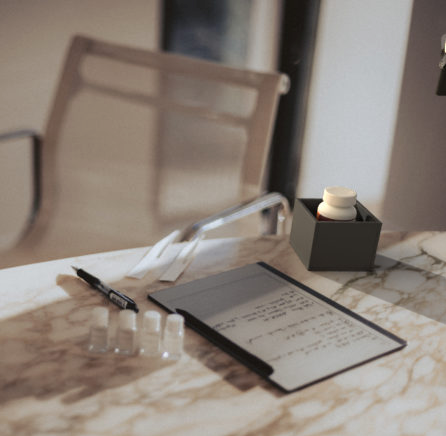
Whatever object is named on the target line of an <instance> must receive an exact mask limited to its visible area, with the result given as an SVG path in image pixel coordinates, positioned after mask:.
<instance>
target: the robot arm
mask: <svg viewBox="0 0 446 436" xmlns="http://www.w3.org/2000/svg"><path fill="white" fill-rule="evenodd" d="M440 48H441V49H440V52H439V55H440V59H441V60H440V61H439V69H440V70H439V73H438V78H437V81H436V82H437V83H436V88H435V92H434V94H435V95H436V96H437V97H446V33H444V34H443V35H441V37H440Z"/></svg>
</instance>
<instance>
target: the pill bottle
mask: <svg viewBox="0 0 446 436" xmlns="http://www.w3.org/2000/svg"><path fill="white" fill-rule="evenodd" d="M357 197H358V193H357V192H356V191H355V190H354V189H352V188H349V187H344V186H333V185H332V186H328V187H325V188H324V191H323V196H322V198H323V200H324V202H322V203H321V204H320V205H319V207H318V211H317V217H316V219H317V220H318V221H352V222H355V219H356V213H357V212H356V209H355V207H354V205H355V204H356V199H357Z"/></svg>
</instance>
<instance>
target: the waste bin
mask: <svg viewBox="0 0 446 436" xmlns="http://www.w3.org/2000/svg"><path fill="white" fill-rule="evenodd" d="M322 202H324V200H323V197H321V198H320V197H318V198H317V197H315V198H314V197H295V199H294V204H293V205H294V207H293V212H292V219H291V225H290V232H289V238H288V239H289V240H288V243H289V245H290V246H291V248H292V250H293V251H294V253H295V255H296V256H297V257H298V259H299V260H300V261H301V263H302V264H303V266H304V267H305V268H306V270H307V271H309V272H310V271H311V272H312V271H313V272H373V271H374V266H375V261H376V257H377V253H378V252H377V251H378V246H379V241H380V237H381V233H382V227H383V222H382V221H381V220H380V219H378V218H377V217H376V216H375V215H374V214H373V213H372V212H371V211H370V210H369V209H368V208H367V207H366V206H364V204H362V202H360V201H359V200H358V199H357V198H356V204H355V205H354V207H355V209H356V212H357V213H356V219H355V222H352V221H318V220H317V219H316V217H317V211H318V207H319V205H320V204H321V203H322Z"/></svg>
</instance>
